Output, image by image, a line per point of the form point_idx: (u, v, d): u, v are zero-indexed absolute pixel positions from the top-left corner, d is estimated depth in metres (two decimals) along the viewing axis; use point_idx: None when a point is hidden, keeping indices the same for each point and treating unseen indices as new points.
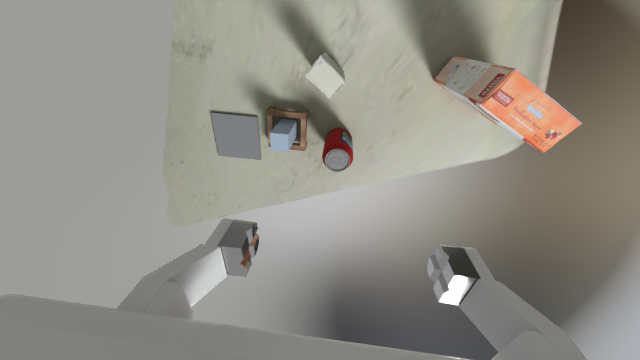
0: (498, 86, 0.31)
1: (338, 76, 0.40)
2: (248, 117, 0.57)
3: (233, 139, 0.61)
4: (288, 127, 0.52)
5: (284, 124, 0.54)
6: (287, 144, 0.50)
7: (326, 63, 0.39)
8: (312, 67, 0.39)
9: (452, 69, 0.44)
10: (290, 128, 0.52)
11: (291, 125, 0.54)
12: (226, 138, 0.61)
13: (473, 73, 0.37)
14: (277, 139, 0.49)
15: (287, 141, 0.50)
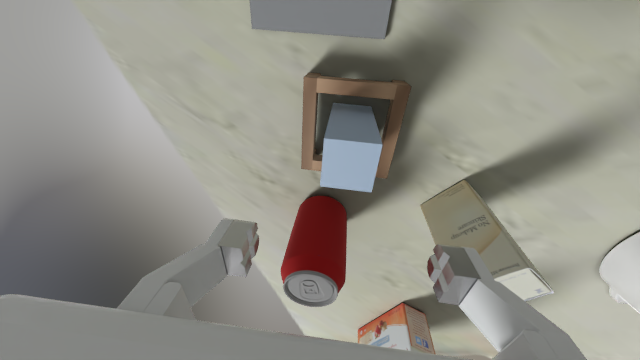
0: None
1: None
2: (387, 7, 0.19)
3: None
4: None
5: None
6: (342, 186, 0.18)
7: (530, 297, 0.19)
8: (538, 279, 0.18)
9: (422, 336, 0.38)
10: None
11: None
12: None
13: None
14: (359, 164, 0.16)
15: (351, 187, 0.18)
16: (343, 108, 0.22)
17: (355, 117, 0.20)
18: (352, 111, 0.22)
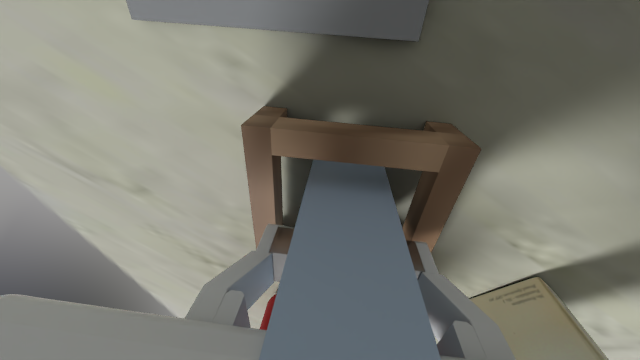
0: None
1: None
2: None
3: None
4: None
5: None
6: None
7: None
8: None
9: None
10: None
11: None
12: None
13: None
14: None
15: None
16: (331, 177, 0.11)
17: (355, 214, 0.09)
18: (349, 189, 0.11)
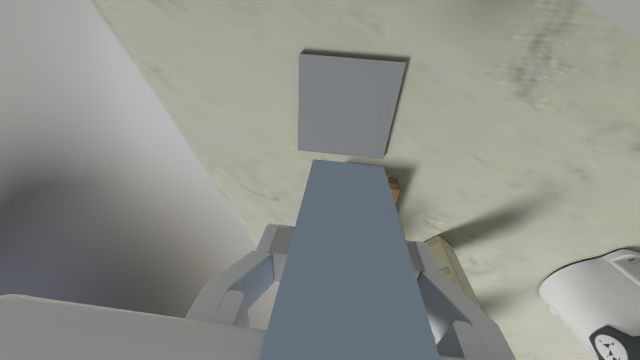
0: None
1: None
2: (384, 143, 0.31)
3: (342, 103, 0.28)
4: None
5: None
6: None
7: None
8: None
9: None
10: None
11: None
12: (343, 86, 0.27)
13: None
14: None
15: None
16: (331, 178, 0.11)
17: (355, 215, 0.09)
18: (349, 189, 0.11)
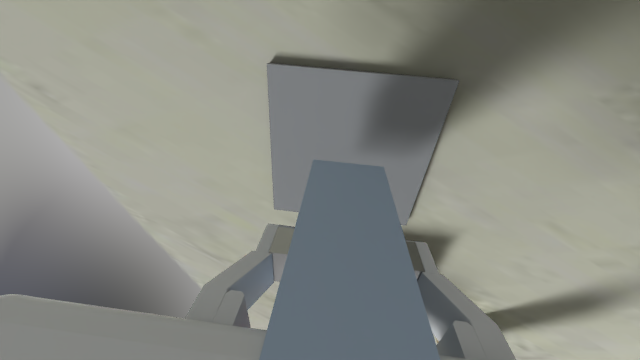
0: None
1: None
2: (409, 205, 0.19)
3: (342, 144, 0.17)
4: None
5: None
6: None
7: None
8: None
9: None
10: None
11: None
12: (345, 119, 0.16)
13: None
14: None
15: None
16: (331, 178, 0.11)
17: (354, 215, 0.09)
18: (349, 189, 0.11)
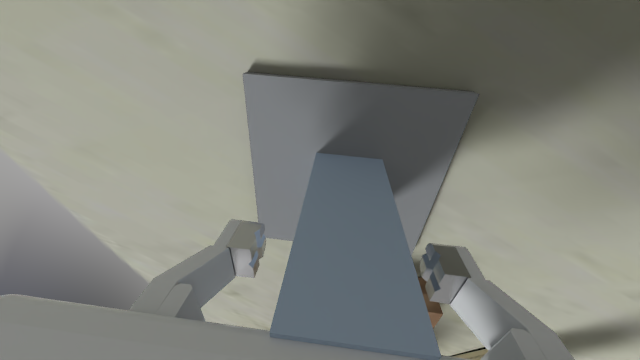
0: None
1: None
2: (416, 234, 0.17)
3: None
4: None
5: None
6: None
7: None
8: None
9: None
10: None
11: None
12: (339, 139, 0.13)
13: None
14: None
15: None
16: (333, 169, 0.12)
17: (355, 201, 0.10)
18: (350, 179, 0.11)
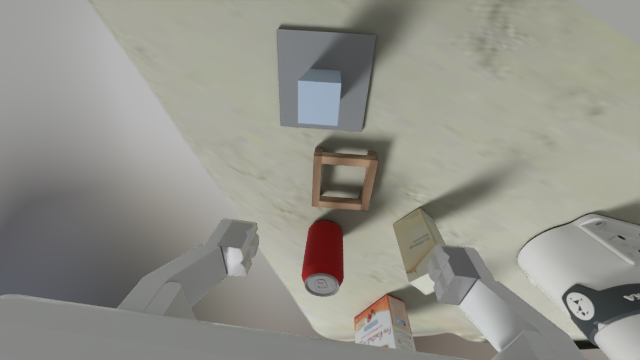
0: None
1: (433, 290, 0.34)
2: (362, 116, 0.32)
3: None
4: None
5: None
6: (314, 122, 0.23)
7: None
8: None
9: (401, 318, 0.51)
10: None
11: None
12: (320, 60, 0.29)
13: None
14: (325, 101, 0.22)
15: (321, 122, 0.23)
16: (317, 70, 0.28)
17: (325, 74, 0.26)
18: (324, 72, 0.27)
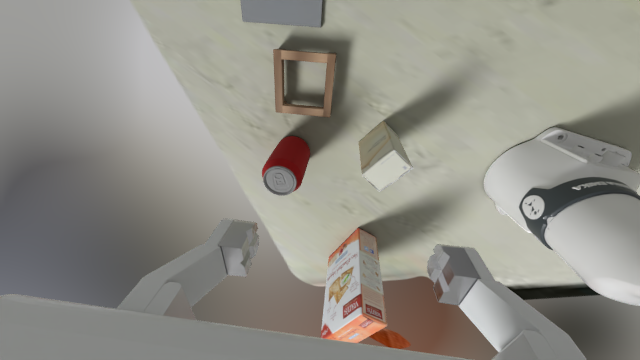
0: (375, 320, 0.39)
1: (386, 185, 0.34)
2: (319, 8, 0.33)
3: None
4: None
5: None
6: None
7: (402, 173, 0.33)
8: (401, 159, 0.32)
9: (369, 247, 0.52)
10: None
11: None
12: None
13: (374, 278, 0.45)
14: None
15: None
16: None
17: None
18: None
